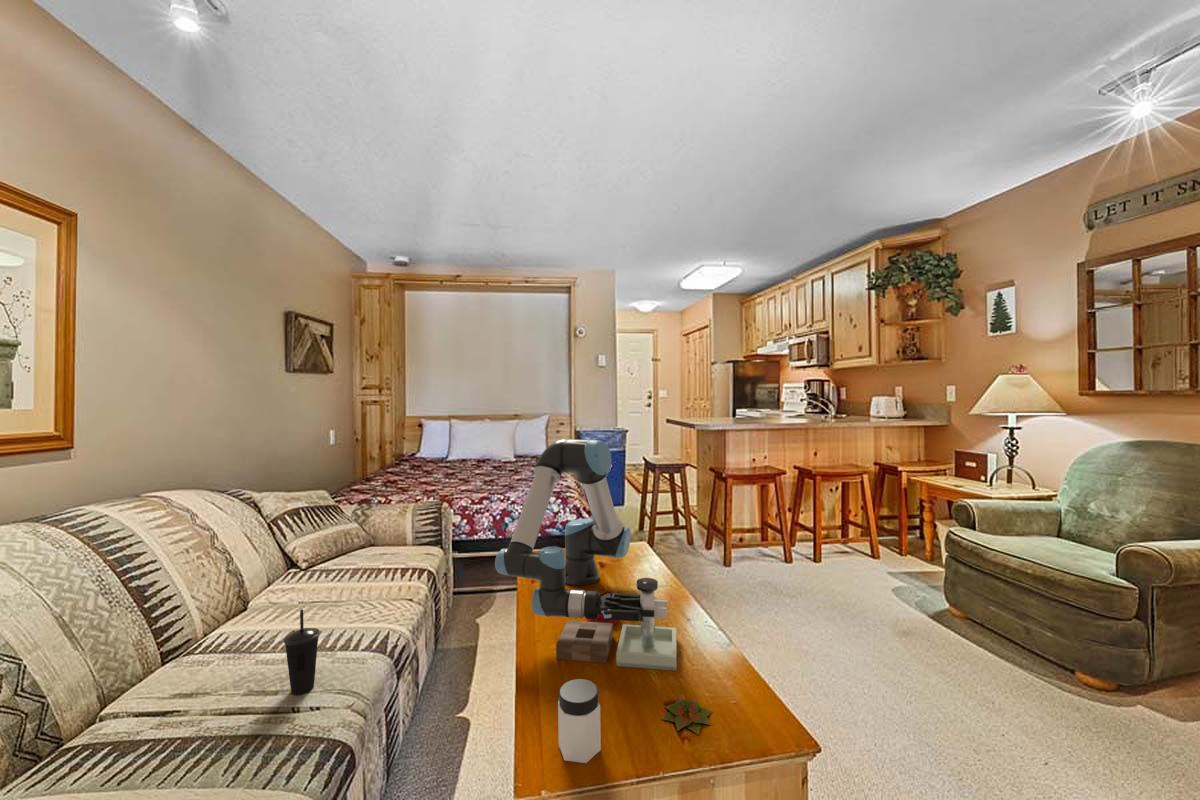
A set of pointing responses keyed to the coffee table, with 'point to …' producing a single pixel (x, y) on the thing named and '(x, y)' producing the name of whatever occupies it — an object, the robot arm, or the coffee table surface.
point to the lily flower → (687, 714)
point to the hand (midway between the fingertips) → (666, 609)
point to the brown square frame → (585, 641)
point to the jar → (579, 720)
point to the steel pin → (647, 599)
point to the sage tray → (640, 657)
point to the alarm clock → (602, 620)
